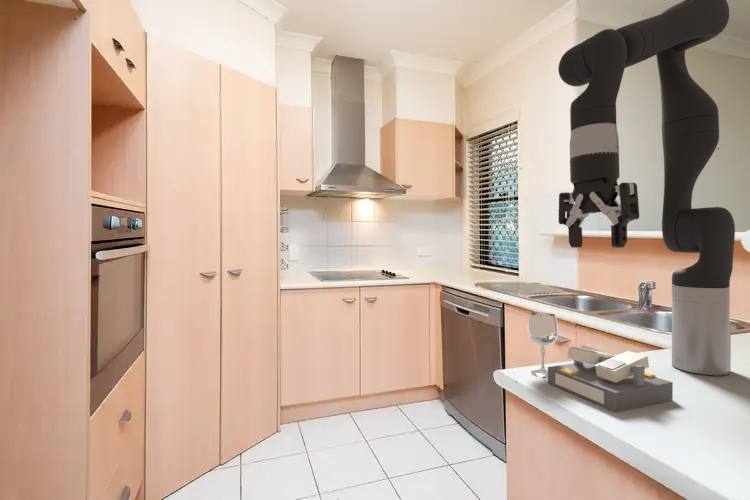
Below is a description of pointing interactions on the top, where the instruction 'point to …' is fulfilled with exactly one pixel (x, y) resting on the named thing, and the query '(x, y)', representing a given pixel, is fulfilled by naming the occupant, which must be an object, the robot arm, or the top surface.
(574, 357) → the block
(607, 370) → the rocker far
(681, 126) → the robot arm
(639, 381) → the switch unit
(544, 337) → the wineglass
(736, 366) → the top surface
